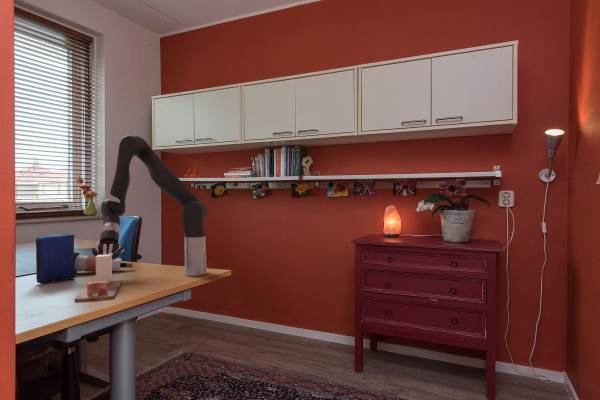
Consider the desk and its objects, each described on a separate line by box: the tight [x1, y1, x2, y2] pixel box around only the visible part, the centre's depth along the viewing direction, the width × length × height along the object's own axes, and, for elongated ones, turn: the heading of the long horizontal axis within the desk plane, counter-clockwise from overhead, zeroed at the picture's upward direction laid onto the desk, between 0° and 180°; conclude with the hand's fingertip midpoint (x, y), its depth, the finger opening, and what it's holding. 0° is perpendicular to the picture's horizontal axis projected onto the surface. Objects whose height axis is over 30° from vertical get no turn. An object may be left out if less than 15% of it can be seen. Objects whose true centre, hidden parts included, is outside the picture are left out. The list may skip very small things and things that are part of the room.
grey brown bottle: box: [74, 251, 134, 274], centre depth 177 cm, size 10×34×10 cm, turn 105°
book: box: [35, 232, 77, 285], centre depth 159 cm, size 14×5×20 cm, turn 150°
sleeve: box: [95, 254, 113, 284], centre depth 151 cm, size 5×5×11 cm
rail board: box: [74, 279, 123, 303], centre depth 142 cm, size 12×26×5 cm, turn 20°
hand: (106, 267), depth 157 cm, fingers closed
